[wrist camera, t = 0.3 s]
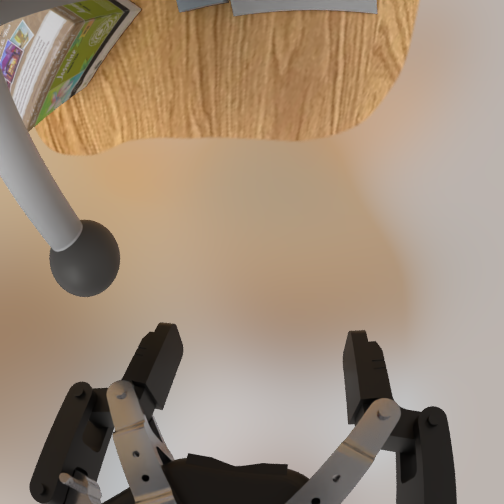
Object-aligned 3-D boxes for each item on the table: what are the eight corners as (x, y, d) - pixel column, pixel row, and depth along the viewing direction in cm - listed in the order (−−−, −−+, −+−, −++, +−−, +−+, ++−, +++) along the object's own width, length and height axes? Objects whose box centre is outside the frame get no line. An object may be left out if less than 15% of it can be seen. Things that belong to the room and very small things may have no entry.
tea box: (89, 87, 31) (24, 138, 22) (48, 57, 26) (-21, 100, 17) (146, 8, 23) (72, 25, 13) (97, -24, 17) (15, -11, 8)
